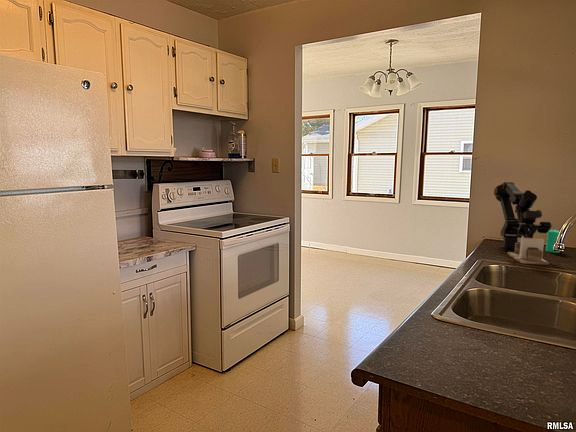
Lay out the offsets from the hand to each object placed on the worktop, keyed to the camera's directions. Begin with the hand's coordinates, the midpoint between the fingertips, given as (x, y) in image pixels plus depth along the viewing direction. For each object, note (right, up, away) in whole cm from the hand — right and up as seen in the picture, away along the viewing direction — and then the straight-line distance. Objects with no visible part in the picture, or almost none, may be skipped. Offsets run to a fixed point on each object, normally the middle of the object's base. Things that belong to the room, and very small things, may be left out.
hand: (530, 241), depth 178 cm
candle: (+24, -7, +21) cm, 32 cm away
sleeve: (0, -7, -1) cm, 8 cm away
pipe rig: (0, -8, +3) cm, 9 cm away
